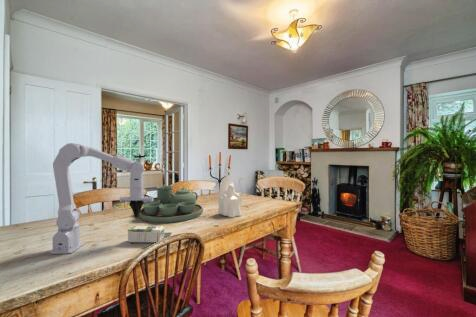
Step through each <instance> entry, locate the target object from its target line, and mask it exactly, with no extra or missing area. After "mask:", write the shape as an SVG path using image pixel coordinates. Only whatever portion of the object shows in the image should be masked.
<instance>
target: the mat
mask: <svg viewBox="0 0 476 317" xmlns="http://www.w3.org/2000/svg"><path fill="white" fill-rule="evenodd" d="M171 235H172V232H164V238H167V237H169V238H170V236H171ZM164 238H163V239H164ZM130 243H131V244H132V245H134V244H135V245H136V244H156V243H155V242H130Z"/></svg>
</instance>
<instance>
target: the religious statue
mask: <svg viewBox="0 0 476 317" xmlns="http://www.w3.org/2000/svg"><path fill="white" fill-rule="evenodd" d="M225 168H226V169H225V170H224V172H223V173H224V174H225V177H223V178H222V181H221V182H219V189H218V190H219V191H218V200H217V201H218V208H217V209H218V212H217V213H218V214H219V215H221V216H224V217H228V218H235V217H241V216H243V212H242V210H243V209H242V192H241V180H243V181H247V182H250V180H249V179H248V178H246V177H242V176H239V177H238V190H239V191H238V192H236V190H235V185H234V182H233V181H232V179H231V177H230V176H229V174H230V173H231V170H230V169H229V167H225ZM250 183H251V182H250Z"/></svg>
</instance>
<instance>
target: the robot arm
mask: <svg viewBox="0 0 476 317" xmlns="http://www.w3.org/2000/svg"><path fill="white" fill-rule="evenodd" d="M82 157H84V158H85V157H93V158H95V159H99V160H102V161H105V162H108V163H110V164H111V165H112V166H111V167H113V168H116V169H119V170H122V171H125V172H130V178H129V196H121V197H119V203H126V202H128V203H129V204H128V205H129V207H130V208H131V210H132V213H133V216H134V218H135V219H137V218H140V217H139V214H140V210H141V209H142V207H143V203H144V201H150V202H152V201H153V199H154V196H144V169H145V168H144V165H143V164H142V162H139V161H136V160H135V159H133V158H132V159H131V158H127V157H125V155H123V154H117V155H114V156H113V155H112V154H110V153H107V152H104V151H103V150H99V149H98V148H95V147H92V146H88V145H87V146H86V145H83V144H80V143H73V142H71V143H66V144H65V145H63V146H62V147H61V148H60V149H59V150H58V153H57V155H56V156H55V158H54V160H53V162H52V168H53V174H54V180H55V186H56V193H57V199H58V201H57V202H58V210H57V215H58V217H57V219H56V226H57V231H56V233H55V234H54V235H53V236H52V240H51V241H52V251H51V252H50V254H51V255H57V254H58V255H59V254H60V255H61V254H62V255H63V254H72V253H74V252H75V251H77V250H78V249H80V248H81V247H82V246H84V245H85V242H81V239H80V238H81V237H80V234H81V233H80V231H81V230H80V224H79V220H80V218H81V214H80V213H81V212H80V211H78V209H77V205H76V203H75V201H74V195H73V187H72V181H71V175H70V168H69V167H70V166H71V165H72V164H73V163H74V162H75V161H77V160H78V159H80V158H82Z"/></svg>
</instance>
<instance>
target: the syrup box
mask: <svg viewBox="0 0 476 317" xmlns="http://www.w3.org/2000/svg"><path fill="white" fill-rule="evenodd" d="M164 233H165V226H161V225H160V226H159V225H154V226H153V225H133V226H132V227H130V228H129V229H127V241H128V243H131V242H158V241H160V240H162V239H163V238H164Z"/></svg>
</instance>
